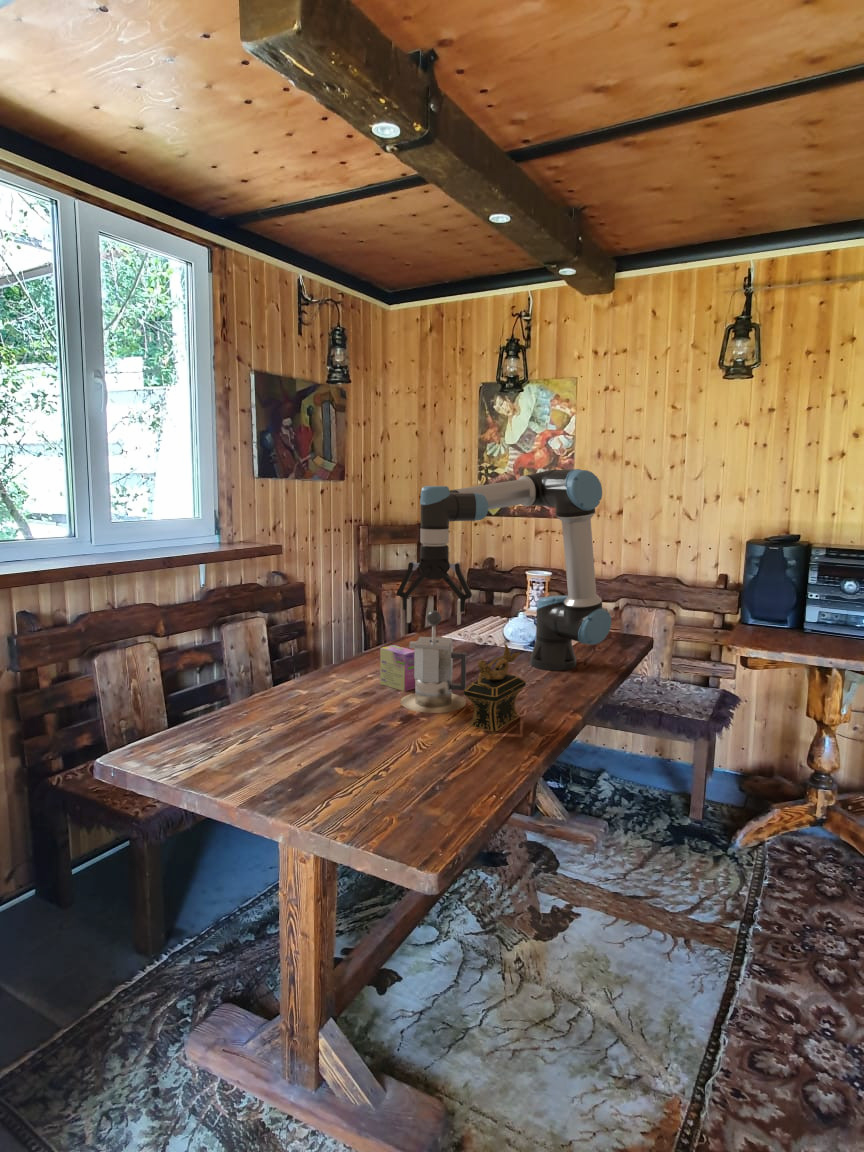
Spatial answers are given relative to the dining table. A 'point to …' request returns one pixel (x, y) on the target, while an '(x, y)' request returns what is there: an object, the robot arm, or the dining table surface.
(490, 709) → the decorative box
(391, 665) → the box
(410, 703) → the beige plate
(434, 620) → the plunger
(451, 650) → the carafe
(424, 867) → the dining table surface
